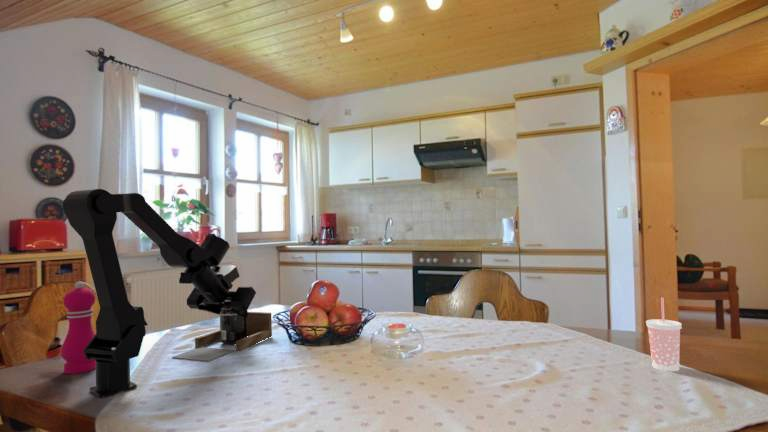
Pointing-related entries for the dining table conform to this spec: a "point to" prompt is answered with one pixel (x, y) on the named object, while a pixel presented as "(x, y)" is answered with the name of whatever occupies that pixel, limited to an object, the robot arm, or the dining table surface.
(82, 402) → the dining table surface
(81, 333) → the pepper mill
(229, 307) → the beverage can
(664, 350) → the beverage cup
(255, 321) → the shelf lane
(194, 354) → the mat
